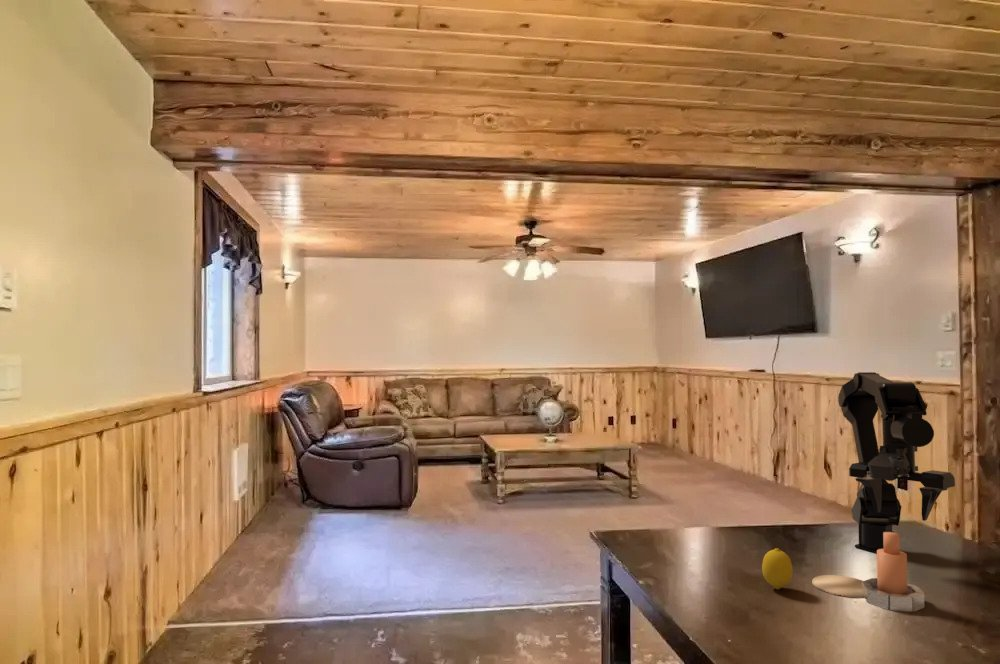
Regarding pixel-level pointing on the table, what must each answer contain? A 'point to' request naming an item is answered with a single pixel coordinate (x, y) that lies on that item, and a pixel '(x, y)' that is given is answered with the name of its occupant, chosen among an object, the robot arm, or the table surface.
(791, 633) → the table surface
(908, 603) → the ring
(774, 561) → the lemon
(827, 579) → the coaster
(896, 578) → the pin
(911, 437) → the robot arm
